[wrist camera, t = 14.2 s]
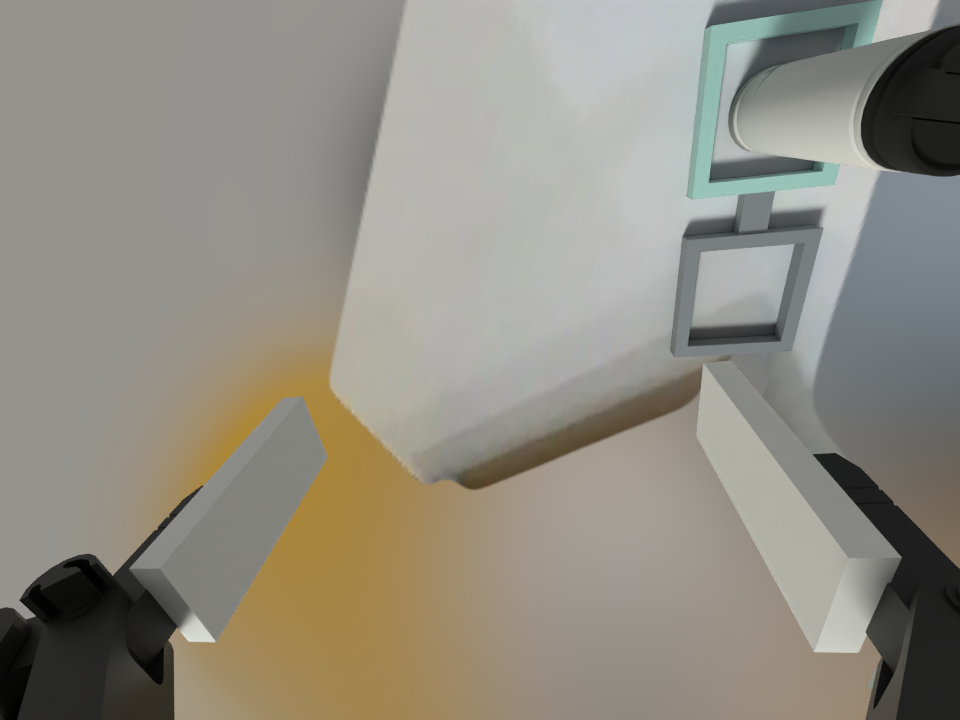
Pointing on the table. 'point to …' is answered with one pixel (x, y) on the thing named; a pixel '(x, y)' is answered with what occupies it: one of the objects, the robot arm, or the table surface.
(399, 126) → the table surface
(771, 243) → the frame
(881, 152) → the travel mug
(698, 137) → the frame
